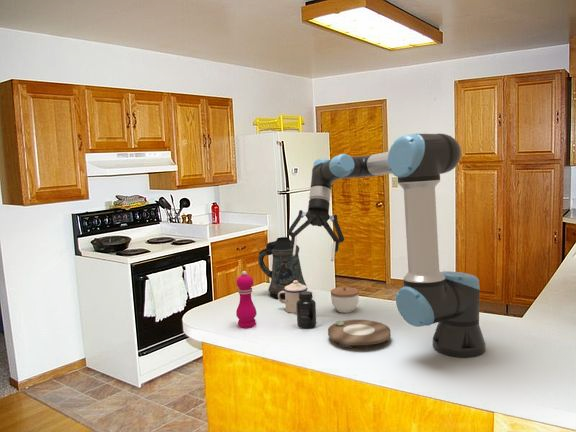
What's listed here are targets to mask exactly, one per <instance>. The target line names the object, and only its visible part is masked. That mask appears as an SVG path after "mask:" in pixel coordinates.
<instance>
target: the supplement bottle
mask: <svg viewBox="0 0 576 432" xmlns="http://www.w3.org/2000/svg"><path fill="white" fill-rule="evenodd" d="M316 305H317V303H316V301H315V299H314V297H313V291H308V290H307V291H303V292H300V293H299V300H298V301H297V303H296V308H297V313H296V321H297V322H296V325H297V327H298V328H299V329H305V330H306V329H308V330H309V329H313V328H315V327H316V326H317V307H316Z"/></svg>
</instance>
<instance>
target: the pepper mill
mask: <svg viewBox="0 0 576 432" xmlns="http://www.w3.org/2000/svg"><path fill="white" fill-rule="evenodd" d="M235 282H236V283H235V284H236V286H237V288H238V294H239V303H238V306H237V308H236V312H235V314H236V318H237V319H238V321H237V325H238V326H237V327H239V328H241V329H249V328H253V327H255V326H256V325H257V324H256V322H257V321H256V319H255V318H256V316H257V310H256V306H255V305H254V303H253V300H252V293H253V288H252V287H253V285H254V279H253V277H252V276H250V275H248V273H247V271H246V270H243V271H241V275H239V276H238V277H237V279H236V281H235Z"/></svg>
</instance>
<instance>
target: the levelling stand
mask: <svg viewBox="0 0 576 432" xmlns="http://www.w3.org/2000/svg"><path fill="white" fill-rule="evenodd" d="M327 335H328V337H329V339H331V340H333V341H335V342H337V343H339V347H340V348H341V349H345V350H346V349H352V348H354V346H373V345H377V344H384V343H387V342H388V340H389V339H390V337H391V329H390V327H389V326H388V325H386V324H384V323H382V322H379V321H376V320H370V319H369V320H368V319H347V320H337V321H335V322H334V323H333V324H331V325H330V326H329V327H328V329H327Z"/></svg>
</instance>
